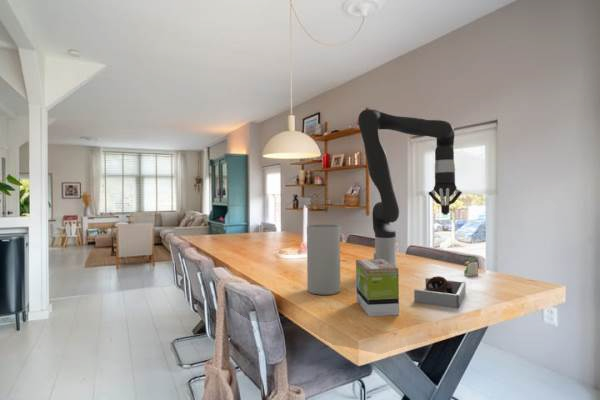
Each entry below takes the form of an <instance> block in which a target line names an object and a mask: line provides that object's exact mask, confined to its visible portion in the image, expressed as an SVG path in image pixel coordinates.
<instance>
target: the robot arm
mask: <svg viewBox="0 0 600 400" xmlns="http://www.w3.org/2000/svg"><path fill="white" fill-rule="evenodd" d="M357 118H358V120H357V123H358V127H359V131H360V134H361V137H362V142H363V146H364V152H365V157H366V163H367V169H368V174H369V177H370V180H371V181H372V183H373V184H374V186H375V187H376V189H377V191H378V193H379V196H380V201H379V202H376V203H375V204H374V205H373V207H372V208H373V209H372V214H371V215H372V229H373V232H374V246H375V247H374V250H375V251H374V253H373V259H384V260H385V261H387V262H389V263H390V264H392V265H394V266H395V267H397V266H396V265H397V260H396V259H397V258H396V257H397V256H396V255H397V253H396V252H397V248H396V247H397V246H396V245H397V243H396V238H397V236H396V234H397V233H396V230H395V229H393V228H392V227H391V224H390V223H395V222H396V221H397V220H398V219H399V215H400V209H399V204H398V201H397V198H396V195H395V194H396V193H395V190H394V187H393V180H392V175H391V169H390V163H389V159H388V156H387V152H386V151H385V149H384V147H383V145H382V143H381V140H380V135H379V130H390V131H395V132H400V133H402V134H405V135H406V134H407V135H411V136H417V137H429V138H435V139H436V147H435V150H434V186H433V189H432V190H431V191H429V192H428V195H429V196H430V198H432V200H433V201H434V202H435V204H437V205H440V206H441V208H440V210H441V214H443V216H445V215H449V213H450V205H452V204H454V203H455V202H456V201H457V200H458V199H459V197H460V196H461V195H462V194H463V192H462V191H461V190H459V189H458V187H457V186H456V165H455V155H454V154H455V152H454V151H455V150H454V144H455V143H454V142H455V129H454V126H453V125H452V123H450V122H448V121H446V120H439V119H438V120H437V119H425V118H418V117H410V116H398V115H393V114H390V113H389V114H388V113H385V112H383V111H379V110H378V109H371V108H370V109H369V108H367V109H364V110H362V111H361V112H360V113H359V115H358V117H357ZM454 192H455V193H454ZM436 194H437V195H438V196H439V198H438V197H437V195H436ZM453 194H454V196H453V198H452V199H451V197H452V195H453Z"/></svg>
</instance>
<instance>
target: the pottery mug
mask: <svg viewBox="0 0 600 400" xmlns="http://www.w3.org/2000/svg"><path fill="white" fill-rule="evenodd" d="M430 278H431V279H429V280H428V281H427V282H426V281H425V291H433V292H441V293H449V294H456V292H454V291H453V289H452V284H451V283H450V282H449V281H447V280H448V279H446V278H445V277H444V276H439V275H437V276H433V277H430ZM440 281H442V283H440ZM430 283H431V285H432V287H433V288H430V287H429V284H430Z"/></svg>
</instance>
